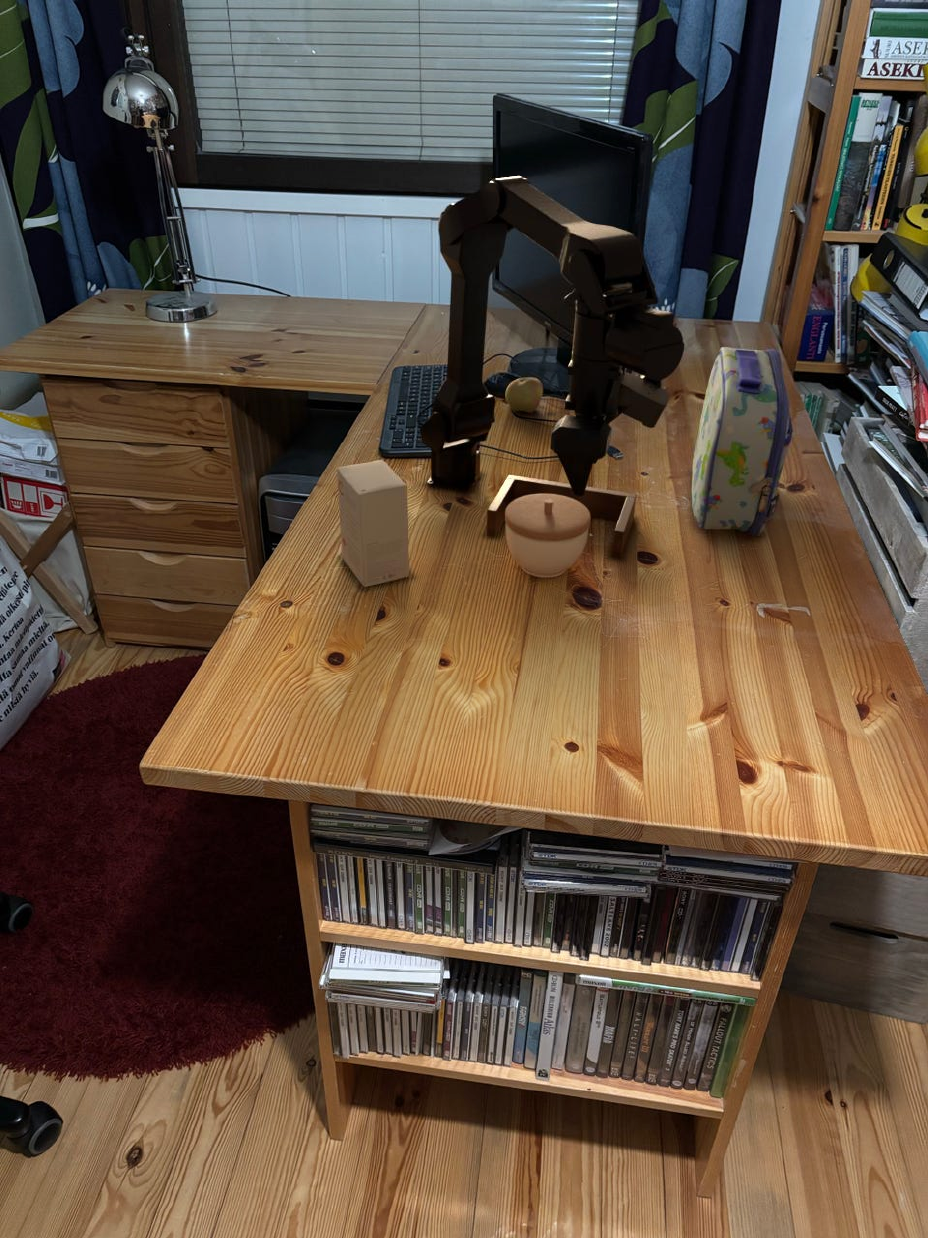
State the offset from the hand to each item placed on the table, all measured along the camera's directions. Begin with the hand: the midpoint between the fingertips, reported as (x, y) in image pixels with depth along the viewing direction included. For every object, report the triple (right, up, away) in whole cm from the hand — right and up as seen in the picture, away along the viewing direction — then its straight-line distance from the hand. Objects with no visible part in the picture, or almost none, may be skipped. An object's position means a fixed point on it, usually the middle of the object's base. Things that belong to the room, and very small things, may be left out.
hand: (585, 478), depth 114 cm
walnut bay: (-1, -4, +16) cm, 16 cm away
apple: (-4, +19, +50) cm, 53 cm away
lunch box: (+24, 0, +22) cm, 33 cm away
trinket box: (-4, -10, +7) cm, 14 cm away
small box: (-26, -11, +6) cm, 29 cm away
